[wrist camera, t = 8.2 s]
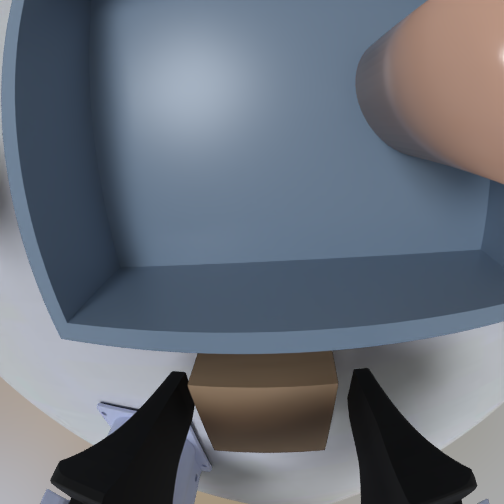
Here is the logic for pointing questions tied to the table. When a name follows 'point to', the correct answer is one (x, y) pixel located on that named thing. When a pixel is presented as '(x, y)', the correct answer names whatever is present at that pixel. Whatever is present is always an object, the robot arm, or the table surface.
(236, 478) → the table surface
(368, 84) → the terracotta cylinder
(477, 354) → the table surface
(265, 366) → the walnut block
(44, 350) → the table surface
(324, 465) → the table surface
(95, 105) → the tote
